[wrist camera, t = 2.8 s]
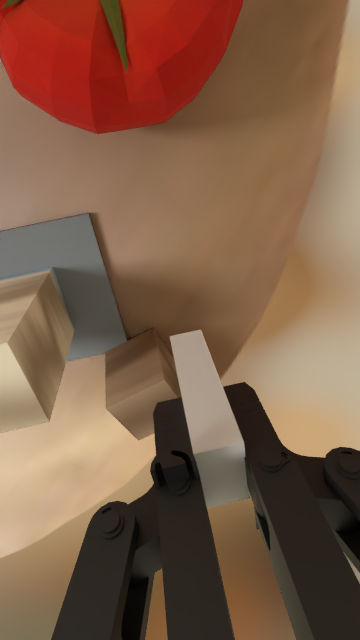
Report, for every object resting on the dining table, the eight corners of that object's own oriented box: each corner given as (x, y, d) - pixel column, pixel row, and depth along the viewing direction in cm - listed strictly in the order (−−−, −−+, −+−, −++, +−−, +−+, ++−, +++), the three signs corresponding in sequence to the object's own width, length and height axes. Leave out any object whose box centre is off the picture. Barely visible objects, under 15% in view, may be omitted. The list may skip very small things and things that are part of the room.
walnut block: (105, 351, 27) (105, 408, 22) (153, 327, 26) (164, 379, 21) (132, 383, 29) (138, 440, 25) (176, 362, 29) (191, 415, 24)
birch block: (-19, 282, 23) (-108, 368, 14) (52, 267, 23) (7, 342, 14) (12, 340, 25) (-49, 444, 16) (75, 326, 25) (49, 421, 17)
